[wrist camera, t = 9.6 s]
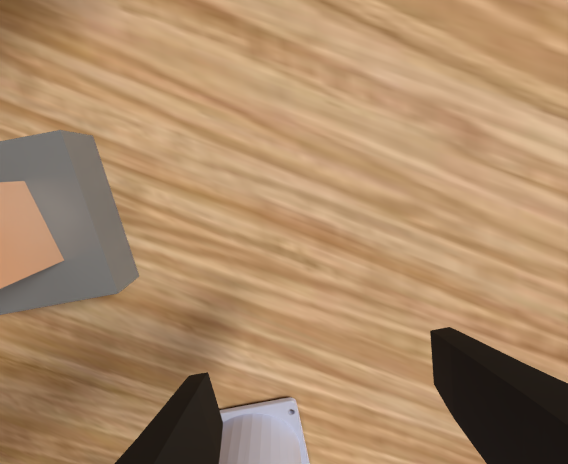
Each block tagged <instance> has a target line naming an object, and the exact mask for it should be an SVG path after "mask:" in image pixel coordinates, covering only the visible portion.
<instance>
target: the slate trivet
mask: <svg viewBox="0 0 568 464" xmlns="http://www.w3.org/2000/svg"><path fill="white" fill-rule="evenodd" d="M14 181H25V183H26V185H27V187H28V189H29V191H30V193H31V195H32V197H33V199H34V201H35V203H36V205H37V207H38V209H39V211H40V213H41V215H42V217H43V219H44V221H45V223H46V225H47V227H48V229H49V231H50V233H51V235H52V237H53V239H54V241H55V243H56V245H57V247H58V249H59V251H60V253H61V255H62V257H63V259H64V261H62V262H59V263H57V264H55V265H53V266H50V267H48V268H46V269H44V270H41V271H39V272H37V273H35V274H32V275H30V276H28V277H26V278H23V279H21V280H19V281H17V282H14V283H12V284H10V285H8V286H5V287H3V288H1V289H0V315H2V314H8V313H13V312H19V311H24V310H29V309H35V308H40V307H46V306H51V305H57V304H62V303H68V302H73V301H79V300H84V299H90V298H95V297H101V296H106V295H112V294H117V293H119V292H120V291H122V290H123V289H124V288H125V287H127V286H128V285H129V284H130V283H132V282H133V281H134V280H135V279H137V278H138V277H139V274H138V271H137V268H136V265H135V262H134V259H133V256H132V252H131V249H130V246H129V243H128V240H127V237H126V234H125V231H124V228H123V225H122V222H121V219H120V216H119V213H118V210H117V207H116V204H115V201H114V198H113V195H112V192H111V189H110V186H109V183H108V180H107V177H106V174H105V171H104V168H103V165H102V162H101V159H100V156H99V153H98V149H97V146H96V143H95V140H94V137H93V136H92V135H86V134H80V133H74V132H69V131H63V130H58V131H53V132H48V133H42V134H37V135H32V136H26V137H21V138H16V139H11V140H5V141H0V182H14Z"/></svg>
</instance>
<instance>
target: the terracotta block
mask: <svg viewBox="0 0 568 464" xmlns="http://www.w3.org/2000/svg"><path fill="white" fill-rule="evenodd" d="M62 261H64V259H63V257H62V255H61V253H60V251H59V249H58V247H57V245H56V243H55V241H54V239H53V237H52V235H51V233H50V231H49V229H48V227H47V225H46V223H45V221H44V219H43V217H42V215H41V213H40V211H39V209H38V207H37V205H36V203H35V201H34V199H33V197H32V195H31V193H30V191H29V189H28V187H27V185H26V183H25V181H14V182H0V289H1V288H3V287H5V286H8V285H10V284H12V283H14V282H17V281H19V280H21V279H23V278H26V277H28V276H30V275H32V274H35V273H37V272H39V271H41V270H44V269H46V268H48V267H50V266H53V265H55V264H57V263H59V262H62Z"/></svg>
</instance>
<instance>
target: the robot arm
mask: <svg viewBox="0 0 568 464" xmlns="http://www.w3.org/2000/svg"><path fill="white" fill-rule="evenodd" d="M430 333H431V347H432V362H433V376H434V385H435V387H436V388H437V390H438V392H439V394H440V396H441V397H442V399H443V401H444V403H445V404H446V406H447V408H448V409H449V411H450V413H451V414H452V416H453V418H454V419H455V420H456V422H457V423H458V425H459V426H460V428H461V429H462V430H463V432H464V433H465V434H466V436H467V437H468V439H469V440H470V441H471V443H472V444H473V445H474V447H475V448H476V450H477V451H478V452H479V454H480V455H481V456H482V458H483V459H484V460H485V462H486V463H487V464H568V383H566V382H563V381H561V380H559V379H557V378H554V377H552V376H550V375H548V374H546V373H544V372H541V371H539V370H537V369H535V368H533V367H531V366H529V365H527V364H524V363H522V362H520V361H518V360H516V359H514V358H512V357H510V356H508V355H506V354H504V353H502V352H500V351H498V350H496V349H494V348H492V347H490V346H488V345H486V344H484V343H482V342H480V341H478V340H476V339H474V338H472V337H470V336H467V335H465V334H463V333H461V332H459V331H457V330H455V329H453V328H450V327H448V328H442V329H437V330H432V331H430ZM290 409H293V410H290ZM115 464H310V462H309V457H308V453H307V448H306V444H305V439H304V435H303V430H302V425H301V421H300V416H299V412H298V407H297V402H296V400H295V399H294V398H291V397H289V398H283V399H278V400H272V401H267V402H262V403H256V404H251V405H245V406H240V407H235V408H229V409H224V410H219V408H218V404H217V401H216V398H215V394H214V391H213V388H212V384H211V381H210V378H209V374H208V372H207V373H201V374H196V375H191V376H189V377H188V378H187V379H186V380H185V381H184V382H183V384H182V385H181V386H180V387H179V388H178V390H177V391H176V392H175V393H174V394H173V396H172V397H171V398H170V399H169V401H168V402H167V403H166V404H165V406H164V407H163V408H162V409H161V410H160V412H159V413H158V414H157V415H156V416H155V418H154V419H153V420H152V421H151V422H150V424H149V425H148V426H147V427H146V428H145V430H144V431H143V432H142V433H141V434H140V436H139V437H138V438H137V439H136V440H135V441H134V443H133V444H132V445H131V446H130V447H129V448H128V449H127V450H126V451H125V453H124V454H123V455H122V456H121V457H120V458H119V459H118V460H117V462H116V463H115Z"/></svg>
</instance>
